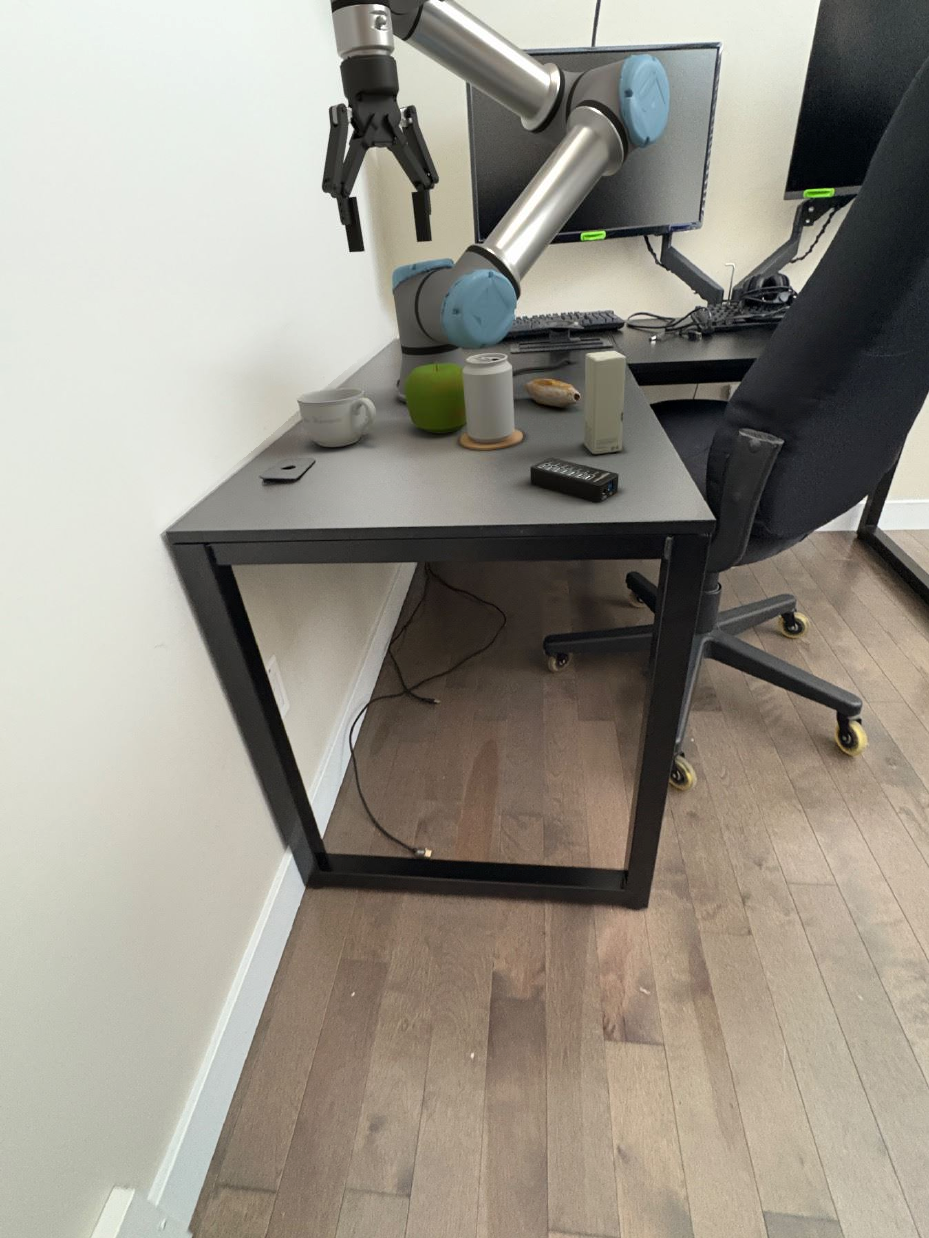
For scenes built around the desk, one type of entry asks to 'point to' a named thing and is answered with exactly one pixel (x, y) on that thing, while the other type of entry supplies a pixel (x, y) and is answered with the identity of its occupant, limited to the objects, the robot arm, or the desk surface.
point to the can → (488, 397)
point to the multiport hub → (574, 479)
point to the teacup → (336, 415)
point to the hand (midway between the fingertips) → (392, 246)
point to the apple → (436, 397)
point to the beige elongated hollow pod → (552, 392)
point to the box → (604, 401)
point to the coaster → (472, 444)
